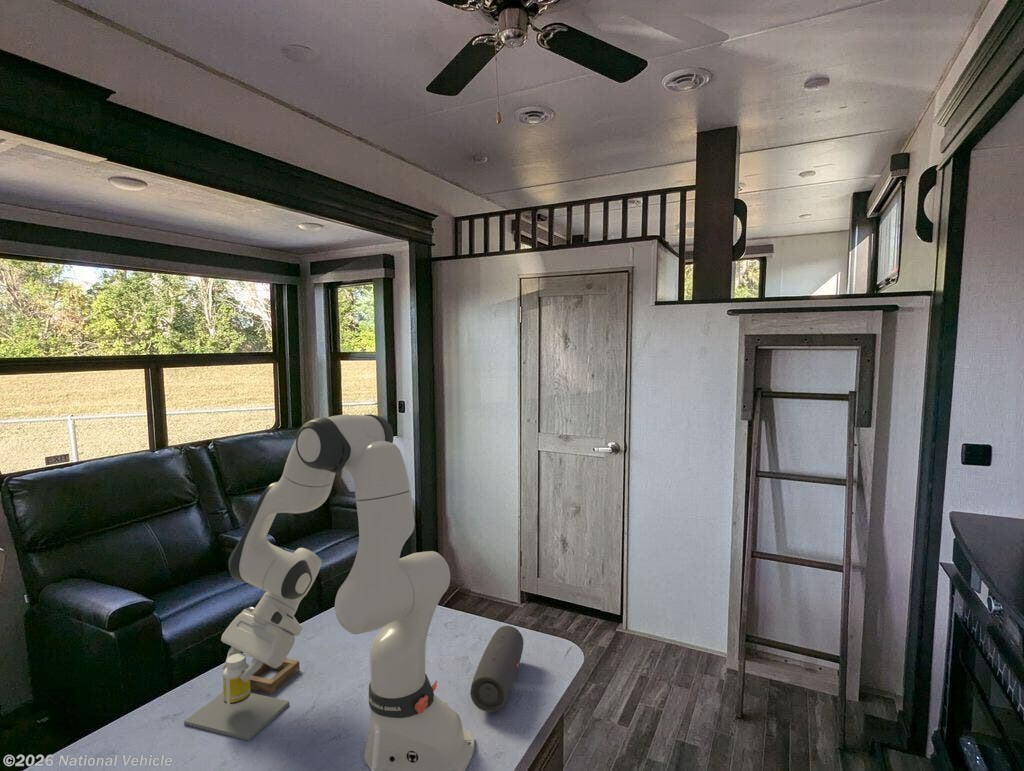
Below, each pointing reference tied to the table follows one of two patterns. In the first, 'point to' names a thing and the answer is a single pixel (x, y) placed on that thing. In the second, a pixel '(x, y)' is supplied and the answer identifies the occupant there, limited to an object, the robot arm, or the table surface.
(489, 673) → the bluetooth speaker
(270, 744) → the table surface
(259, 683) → the walnut collar
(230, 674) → the supplement bottle
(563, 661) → the table surface
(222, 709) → the slate mat
